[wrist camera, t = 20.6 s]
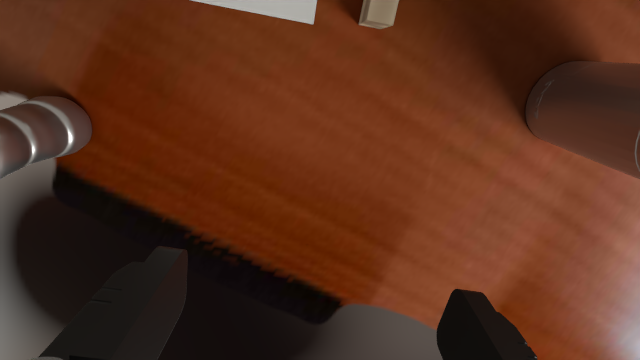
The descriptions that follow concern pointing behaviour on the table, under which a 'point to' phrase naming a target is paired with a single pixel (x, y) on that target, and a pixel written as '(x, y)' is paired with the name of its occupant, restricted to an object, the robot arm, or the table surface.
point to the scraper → (378, 13)
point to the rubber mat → (273, 8)
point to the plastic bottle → (41, 131)
